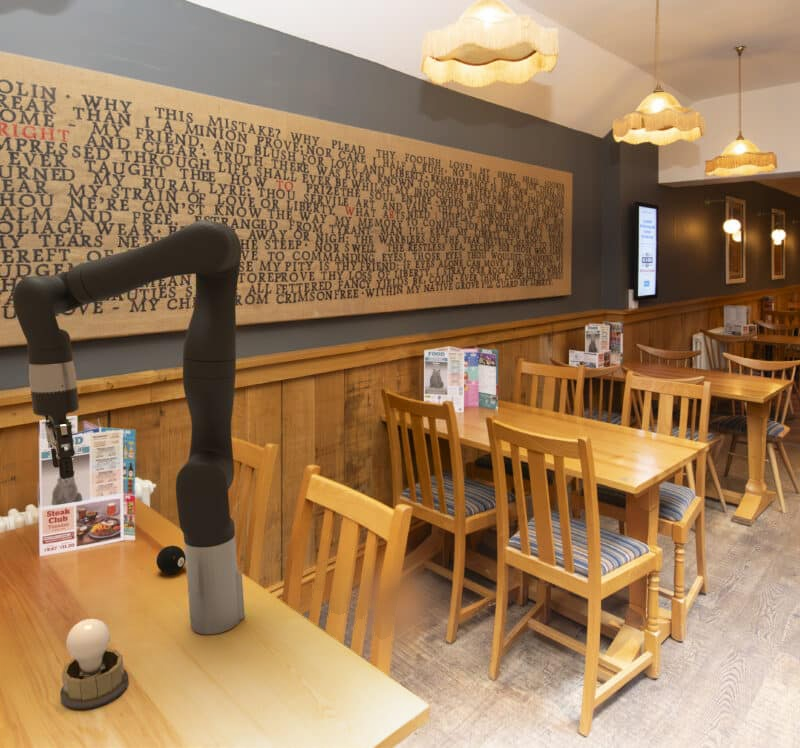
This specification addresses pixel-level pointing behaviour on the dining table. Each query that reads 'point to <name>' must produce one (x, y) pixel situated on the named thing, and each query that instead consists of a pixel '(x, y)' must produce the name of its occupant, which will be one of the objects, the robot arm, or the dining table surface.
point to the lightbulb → (88, 645)
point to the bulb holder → (94, 683)
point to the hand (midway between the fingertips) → (63, 471)
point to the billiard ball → (171, 559)
